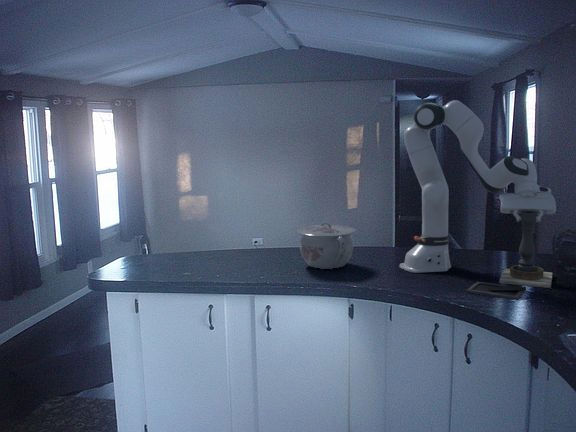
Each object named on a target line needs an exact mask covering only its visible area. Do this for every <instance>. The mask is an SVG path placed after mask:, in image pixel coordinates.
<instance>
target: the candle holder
mask: <svg viewBox="0 0 576 432" xmlns="http://www.w3.org/2000/svg"><path fill="white" fill-rule="evenodd" d="M520 216H521V224H522V226H520V229H521V230H522V235H521V236H522V237H521V240H520V245H519V247H518V253H519V256H520V259H519V260H518V264H517V265H518V271H523V272H535V261H534V260H533V259H534V256H535V255H536V248H535V242H534V231H535V230H536V227H535V224H536V216H538V214H537V212H533V211H522V212H521V214H520Z"/></svg>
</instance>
